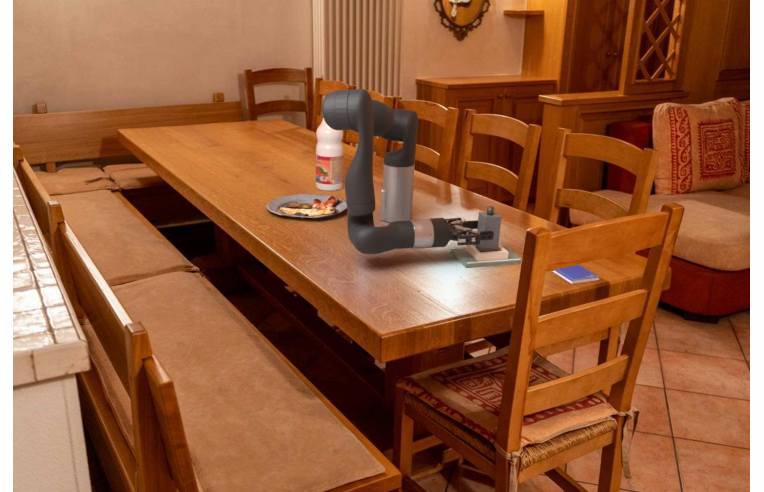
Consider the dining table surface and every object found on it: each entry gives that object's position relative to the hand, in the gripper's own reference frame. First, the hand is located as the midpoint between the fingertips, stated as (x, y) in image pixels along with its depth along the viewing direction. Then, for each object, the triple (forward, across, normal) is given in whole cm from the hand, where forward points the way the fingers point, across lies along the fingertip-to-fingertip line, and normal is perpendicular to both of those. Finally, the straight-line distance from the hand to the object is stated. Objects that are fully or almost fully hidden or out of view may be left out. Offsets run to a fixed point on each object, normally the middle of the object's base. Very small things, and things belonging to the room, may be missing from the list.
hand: (486, 229), depth 179 cm
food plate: (-38, +48, +8) cm, 62 cm away
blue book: (+18, -14, +9) cm, 24 cm away
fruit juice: (-27, +73, +8) cm, 78 cm away
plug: (+1, 0, +7) cm, 7 cm away
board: (+1, 0, +8) cm, 8 cm away
